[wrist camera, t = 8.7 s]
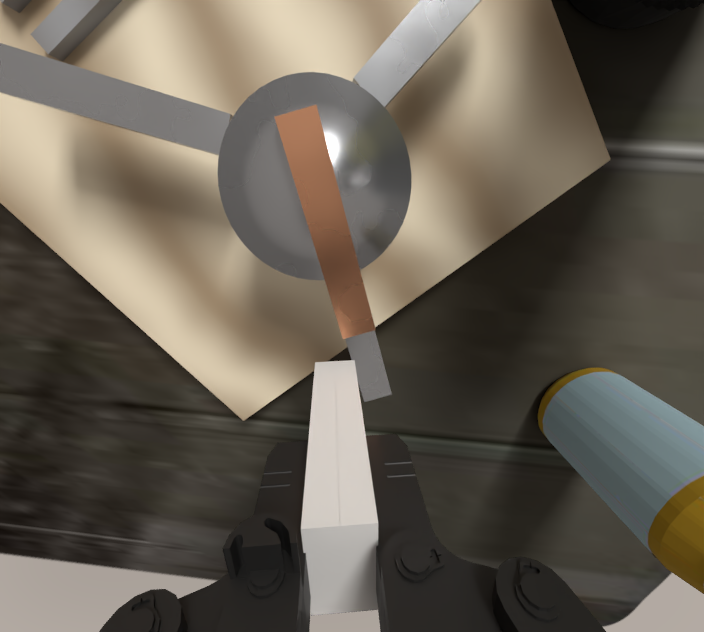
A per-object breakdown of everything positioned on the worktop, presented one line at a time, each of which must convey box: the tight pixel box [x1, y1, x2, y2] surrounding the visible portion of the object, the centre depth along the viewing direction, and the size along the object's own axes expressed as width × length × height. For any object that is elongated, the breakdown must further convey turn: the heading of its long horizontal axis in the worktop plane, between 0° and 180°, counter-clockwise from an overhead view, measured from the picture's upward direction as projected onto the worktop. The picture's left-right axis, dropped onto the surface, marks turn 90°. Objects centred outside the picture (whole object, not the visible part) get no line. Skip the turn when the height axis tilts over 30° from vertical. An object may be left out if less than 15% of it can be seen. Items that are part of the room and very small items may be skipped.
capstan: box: [0, 0, 482, 402], centre depth 14 cm, size 17×20×7 cm
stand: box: [0, 0, 611, 421], centre depth 16 cm, size 26×23×4 cm
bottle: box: [538, 368, 704, 594], centre depth 19 cm, size 7×7×15 cm
